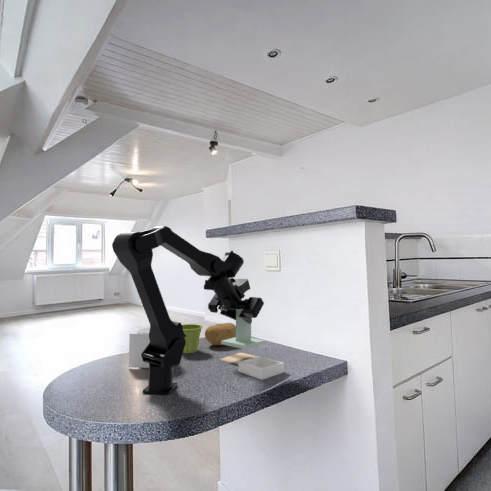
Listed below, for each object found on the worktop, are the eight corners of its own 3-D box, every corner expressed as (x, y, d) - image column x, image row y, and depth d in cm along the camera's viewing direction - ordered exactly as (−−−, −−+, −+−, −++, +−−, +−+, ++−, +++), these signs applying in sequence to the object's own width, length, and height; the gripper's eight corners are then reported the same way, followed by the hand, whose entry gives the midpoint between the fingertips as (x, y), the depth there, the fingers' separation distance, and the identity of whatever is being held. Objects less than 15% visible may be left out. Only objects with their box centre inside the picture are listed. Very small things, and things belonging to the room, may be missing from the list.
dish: (261, 381, 87) (261, 369, 87) (238, 372, 93) (238, 362, 93) (283, 373, 93) (283, 362, 93) (260, 366, 99) (260, 356, 100)
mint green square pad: (245, 367, 98) (245, 366, 98) (218, 360, 105) (218, 359, 105) (267, 359, 106) (267, 358, 106) (240, 353, 113) (240, 352, 113)
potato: (197, 346, 123) (198, 324, 123) (226, 340, 132) (227, 320, 133) (213, 351, 116) (214, 328, 116) (243, 345, 125) (243, 323, 126)
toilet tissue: (178, 360, 105) (179, 327, 106) (159, 371, 93) (160, 335, 94) (148, 357, 108) (149, 326, 108) (126, 368, 96) (127, 333, 97)
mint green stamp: (245, 349, 99) (246, 312, 99) (221, 344, 105) (221, 308, 106) (265, 343, 107) (265, 308, 107) (240, 338, 113) (241, 306, 113)
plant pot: (196, 356, 109) (197, 329, 110) (169, 354, 111) (170, 328, 111) (205, 349, 118) (206, 324, 119) (180, 347, 120) (181, 323, 121)
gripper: (260, 270, 98) (280, 305, 106) (214, 269, 110) (235, 300, 118) (243, 299, 92) (266, 333, 100) (196, 294, 103) (220, 326, 111)
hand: (246, 321), depth 107 cm, fingers closed on mint green stamp, 3 cm apart
